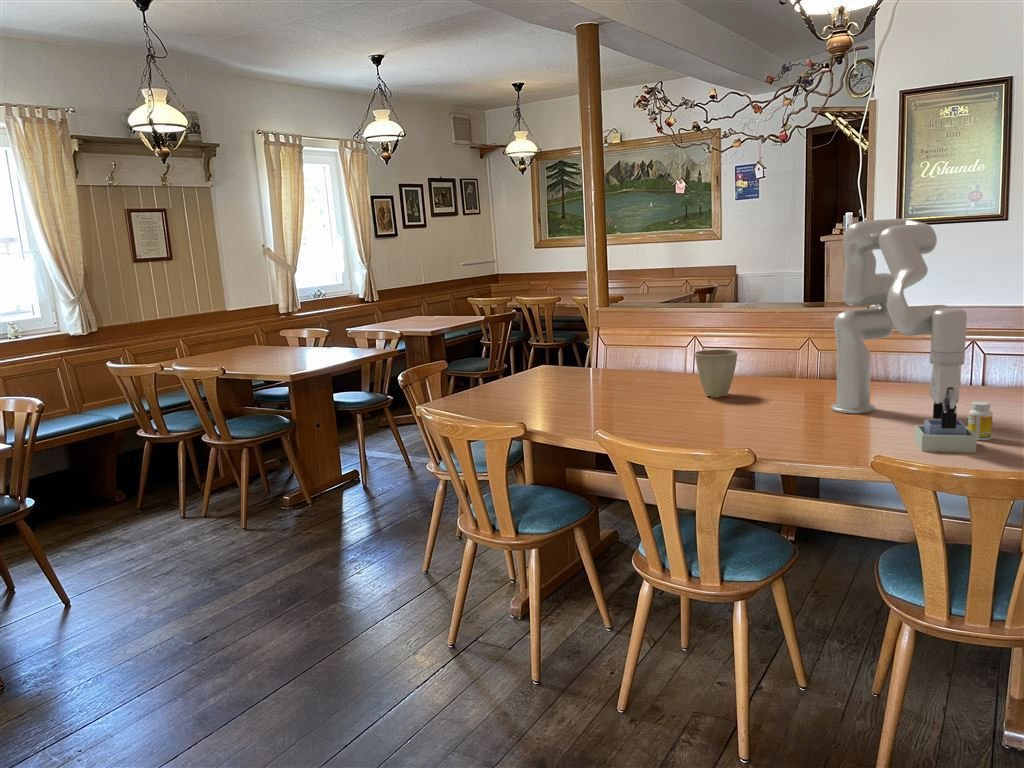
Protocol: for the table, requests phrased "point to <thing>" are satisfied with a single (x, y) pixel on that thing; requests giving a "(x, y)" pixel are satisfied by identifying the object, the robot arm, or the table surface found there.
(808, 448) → the table surface
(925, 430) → the small crate
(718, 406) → the table surface
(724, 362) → the plant pot
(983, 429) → the supplement bottle
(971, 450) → the large crate
